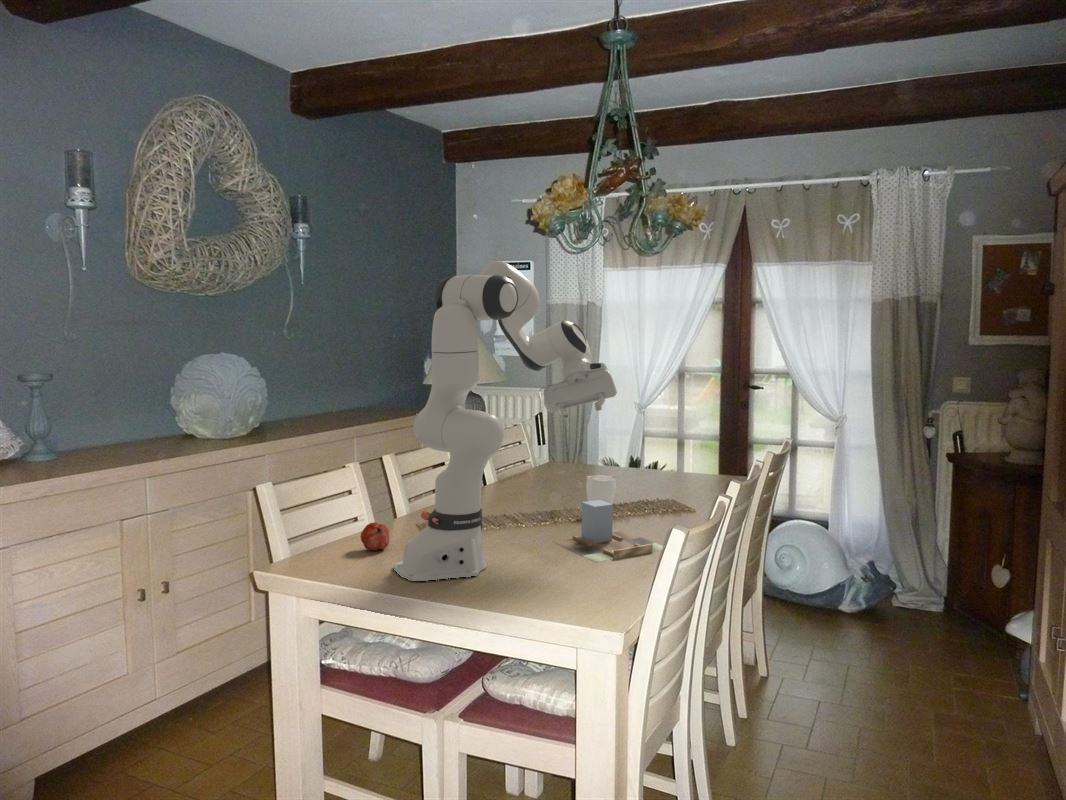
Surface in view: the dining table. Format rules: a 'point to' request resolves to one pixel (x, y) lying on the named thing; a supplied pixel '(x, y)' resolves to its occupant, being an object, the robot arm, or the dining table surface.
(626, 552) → the tray with wooden handles
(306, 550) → the dining table surface
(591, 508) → the block
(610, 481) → the cup
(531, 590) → the dining table surface
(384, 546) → the pomegranate
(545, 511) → the dining table surface
